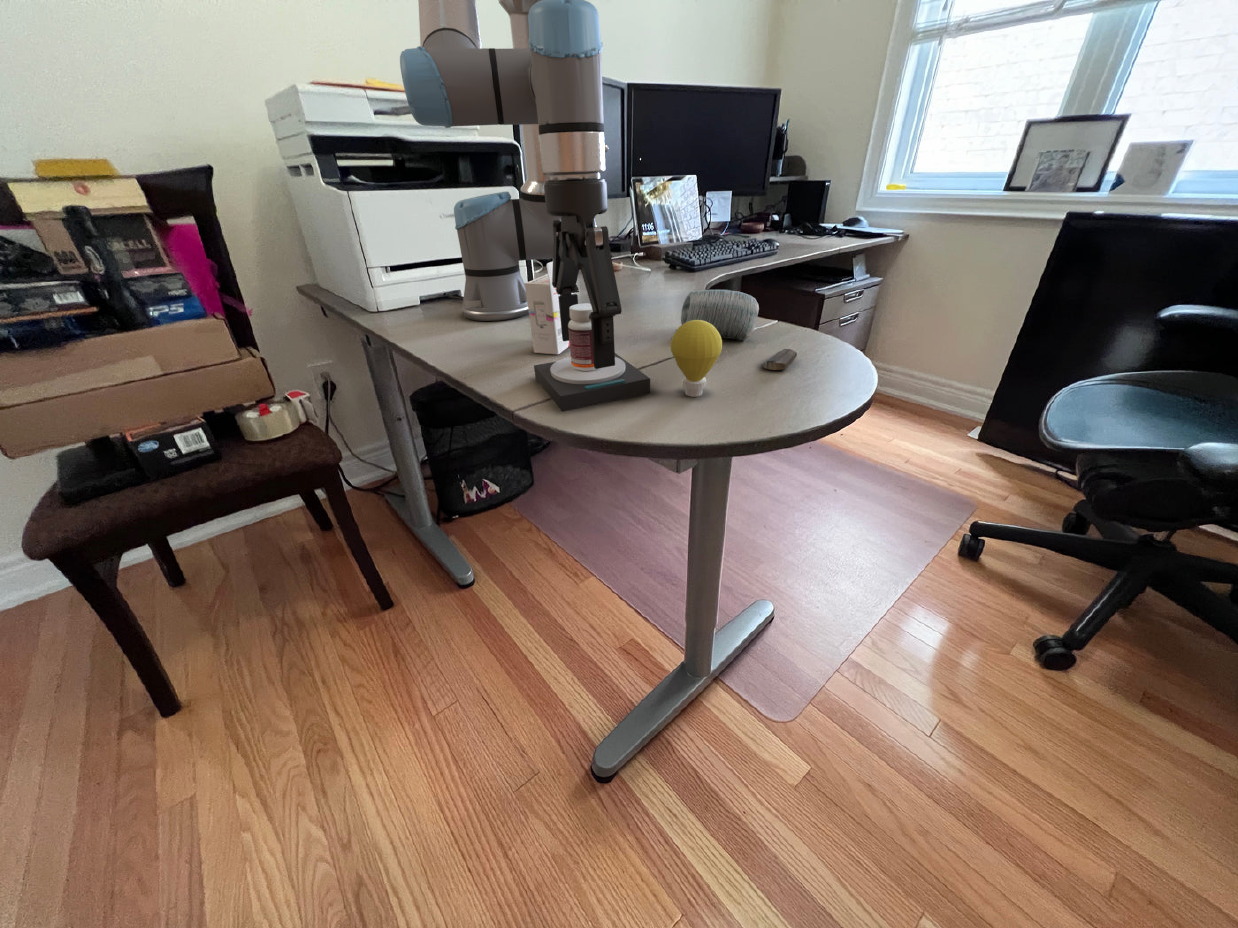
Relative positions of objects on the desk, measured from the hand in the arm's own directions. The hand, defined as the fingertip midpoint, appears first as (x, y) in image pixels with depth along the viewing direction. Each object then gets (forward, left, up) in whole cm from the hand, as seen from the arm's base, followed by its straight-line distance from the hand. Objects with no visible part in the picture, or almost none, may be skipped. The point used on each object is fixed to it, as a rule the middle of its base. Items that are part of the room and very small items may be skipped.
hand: (586, 352), depth 69 cm
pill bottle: (0, 0, -2) cm, 2 cm away
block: (+7, +29, -5) cm, 30 cm away
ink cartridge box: (-19, +1, -5) cm, 20 cm away
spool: (-10, +29, -5) cm, 31 cm away
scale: (+1, 0, -5) cm, 5 cm away
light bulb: (+10, +12, -5) cm, 16 cm away
